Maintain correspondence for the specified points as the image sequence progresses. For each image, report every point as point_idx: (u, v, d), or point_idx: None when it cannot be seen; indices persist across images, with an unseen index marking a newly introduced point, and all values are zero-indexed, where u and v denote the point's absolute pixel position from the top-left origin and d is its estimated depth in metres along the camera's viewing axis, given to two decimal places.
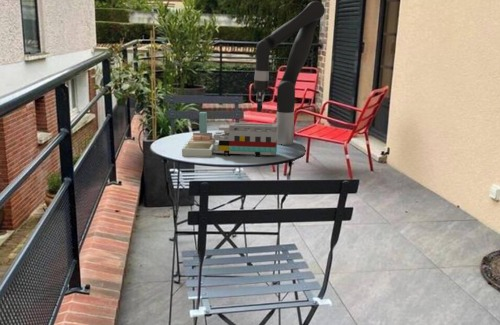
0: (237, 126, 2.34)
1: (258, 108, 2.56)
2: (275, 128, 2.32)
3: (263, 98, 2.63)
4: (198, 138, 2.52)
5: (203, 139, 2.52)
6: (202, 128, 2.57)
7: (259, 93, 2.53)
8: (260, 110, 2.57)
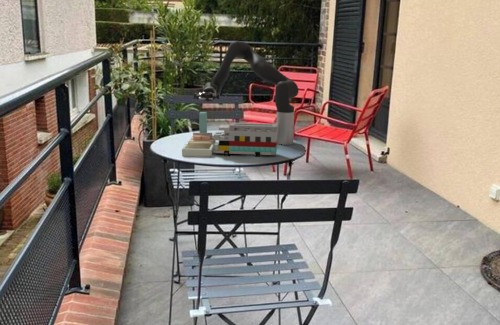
0: (237, 126, 2.34)
1: (196, 97, 2.68)
2: (275, 128, 2.32)
3: (211, 93, 2.71)
4: (198, 138, 2.52)
5: (203, 139, 2.52)
6: (202, 128, 2.57)
7: None
8: (197, 95, 2.66)
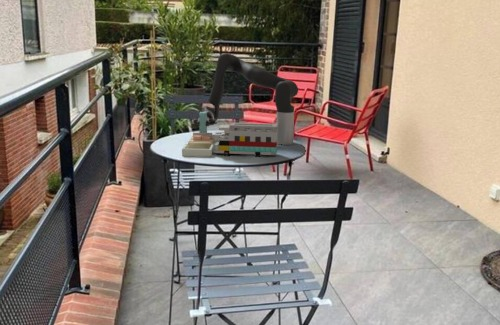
0: (237, 126, 2.34)
1: (196, 123, 2.57)
2: (275, 128, 2.32)
3: None
4: (198, 138, 2.52)
5: (203, 139, 2.52)
6: (202, 128, 2.57)
7: (192, 121, 2.64)
8: (198, 122, 2.56)
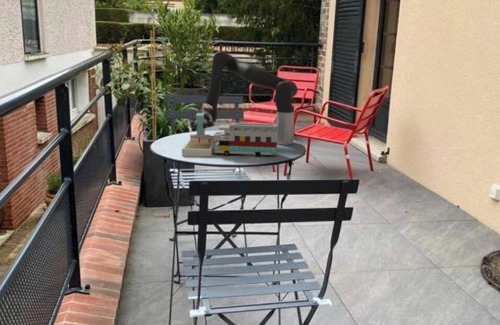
0: (237, 126, 2.34)
1: (193, 126, 2.47)
2: (275, 128, 2.32)
3: (204, 120, 2.52)
4: (196, 141, 2.45)
5: (201, 142, 2.45)
6: (200, 130, 2.48)
7: (189, 123, 2.55)
8: (194, 124, 2.46)
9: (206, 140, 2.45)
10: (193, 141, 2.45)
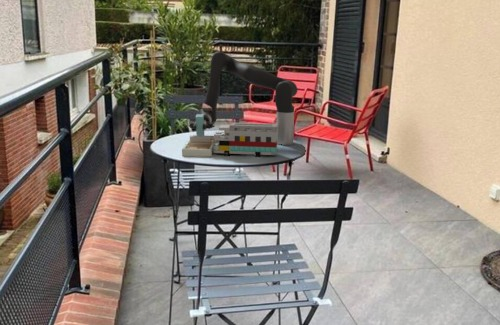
0: (237, 126, 2.34)
1: (193, 127, 2.45)
2: (275, 128, 2.32)
3: None
4: None
5: None
6: (199, 131, 2.46)
7: None
8: None
9: None
10: None
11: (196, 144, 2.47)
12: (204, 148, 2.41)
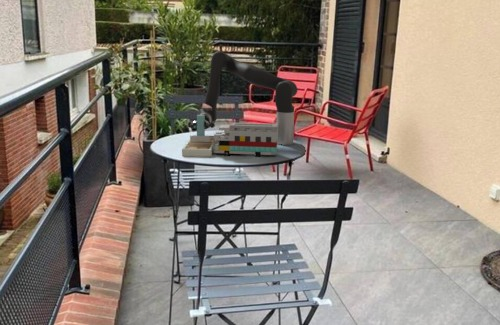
0: (237, 126, 2.34)
1: None
2: (275, 128, 2.32)
3: (205, 121, 2.49)
4: None
5: None
6: (200, 131, 2.48)
7: None
8: None
9: None
10: None
11: (196, 144, 2.47)
12: (204, 148, 2.41)
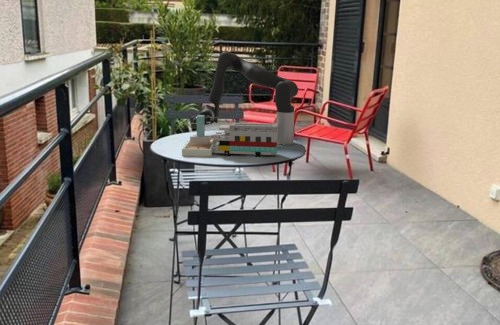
0: (237, 126, 2.34)
1: (193, 121, 2.58)
2: (275, 128, 2.32)
3: (209, 116, 2.62)
4: None
5: None
6: (200, 131, 2.47)
7: None
8: (194, 120, 2.57)
9: None
10: None
11: (196, 144, 2.47)
12: (204, 148, 2.41)
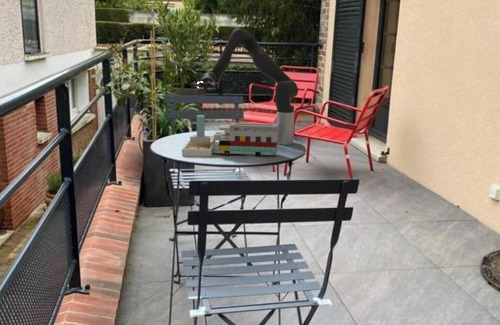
0: (237, 126, 2.34)
1: (193, 86, 2.58)
2: (275, 128, 2.32)
3: (210, 82, 2.62)
4: None
5: None
6: (200, 131, 2.47)
7: None
8: (194, 85, 2.57)
9: None
10: None
11: (196, 144, 2.47)
12: (204, 148, 2.41)
